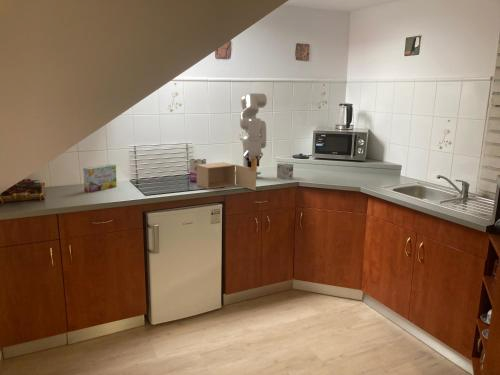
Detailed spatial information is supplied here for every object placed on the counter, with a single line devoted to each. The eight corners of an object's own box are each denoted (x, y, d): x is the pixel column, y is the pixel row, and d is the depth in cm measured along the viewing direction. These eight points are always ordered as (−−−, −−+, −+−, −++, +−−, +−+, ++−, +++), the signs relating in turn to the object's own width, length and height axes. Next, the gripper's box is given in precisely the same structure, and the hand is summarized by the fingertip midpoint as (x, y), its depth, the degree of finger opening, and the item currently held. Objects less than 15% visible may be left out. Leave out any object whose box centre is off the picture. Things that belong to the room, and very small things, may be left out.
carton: (223, 181, 300) (223, 162, 297) (235, 185, 289) (235, 164, 286) (196, 185, 287) (196, 164, 283) (207, 188, 276) (207, 167, 273)
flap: (235, 184, 289) (235, 154, 284) (237, 184, 290) (237, 154, 285) (254, 190, 272) (255, 158, 268) (256, 190, 273) (257, 158, 268)
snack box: (90, 193, 260) (88, 168, 257) (84, 191, 263) (82, 167, 260) (117, 187, 277) (116, 164, 274) (111, 185, 280) (110, 163, 277)
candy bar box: (206, 181, 298) (206, 158, 295) (202, 183, 294) (202, 159, 290) (193, 180, 303) (193, 157, 300) (189, 181, 299) (189, 158, 295)
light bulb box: (293, 178, 316) (293, 164, 314) (289, 179, 311) (289, 165, 309) (280, 176, 322) (281, 162, 320) (276, 177, 317) (276, 163, 314)
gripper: (260, 137, 276) (260, 164, 280) (239, 138, 266) (239, 167, 270) (268, 138, 270) (267, 166, 274) (246, 139, 260) (246, 168, 264)
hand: (253, 166), depth 272 cm, fingers open, 5 cm apart
